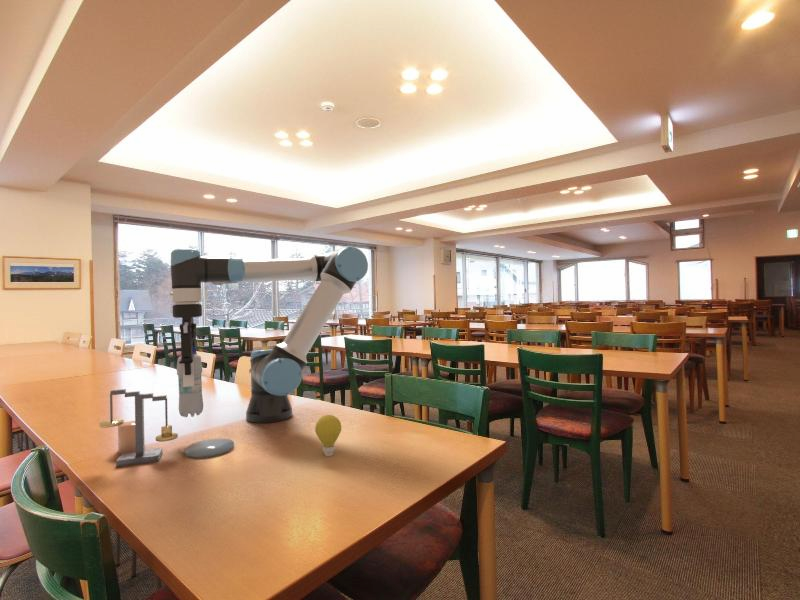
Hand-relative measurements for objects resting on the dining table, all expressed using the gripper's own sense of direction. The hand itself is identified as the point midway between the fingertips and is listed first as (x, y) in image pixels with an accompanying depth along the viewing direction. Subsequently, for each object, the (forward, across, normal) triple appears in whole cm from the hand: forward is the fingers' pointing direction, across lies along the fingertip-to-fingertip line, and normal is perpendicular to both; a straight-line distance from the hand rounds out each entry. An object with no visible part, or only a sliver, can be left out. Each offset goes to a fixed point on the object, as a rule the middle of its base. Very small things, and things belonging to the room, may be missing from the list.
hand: (190, 383), depth 120 cm
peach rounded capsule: (+16, +1, -15) cm, 22 cm away
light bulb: (+17, +26, +34) cm, 46 cm away
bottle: (+9, 0, 0) cm, 9 cm away
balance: (+16, +11, -11) cm, 22 cm away
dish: (+16, +10, +5) cm, 20 cm away
